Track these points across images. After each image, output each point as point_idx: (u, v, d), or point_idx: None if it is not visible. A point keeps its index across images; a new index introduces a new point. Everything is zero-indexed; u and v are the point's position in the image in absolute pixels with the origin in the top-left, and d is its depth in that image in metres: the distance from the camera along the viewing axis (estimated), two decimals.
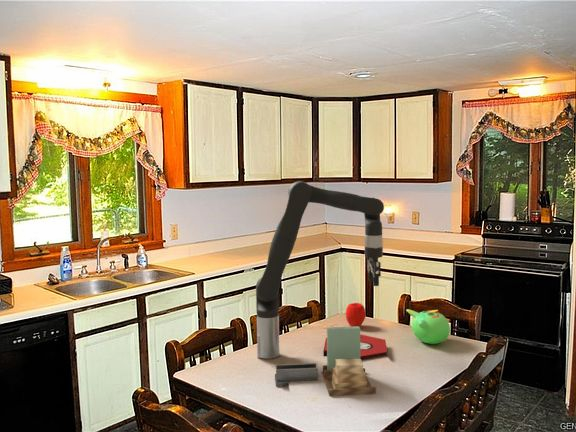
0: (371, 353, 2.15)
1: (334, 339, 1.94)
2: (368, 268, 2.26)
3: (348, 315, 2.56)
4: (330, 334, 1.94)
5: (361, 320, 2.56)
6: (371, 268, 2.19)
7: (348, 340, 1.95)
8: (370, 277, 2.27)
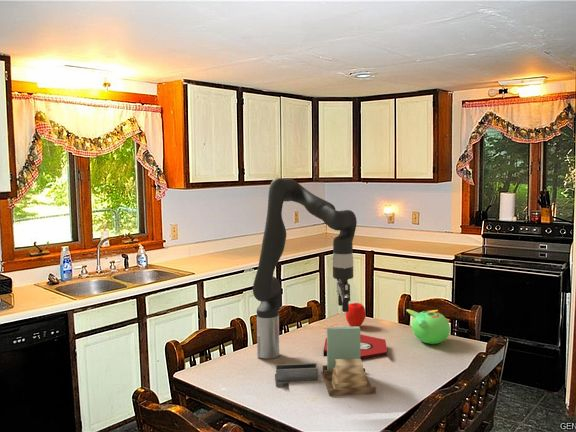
0: (371, 353, 2.15)
1: (334, 339, 1.94)
2: (337, 291, 1.97)
3: (348, 315, 2.56)
4: (330, 334, 1.94)
5: (361, 320, 2.56)
6: (340, 291, 1.91)
7: (348, 340, 1.95)
8: (340, 301, 1.98)
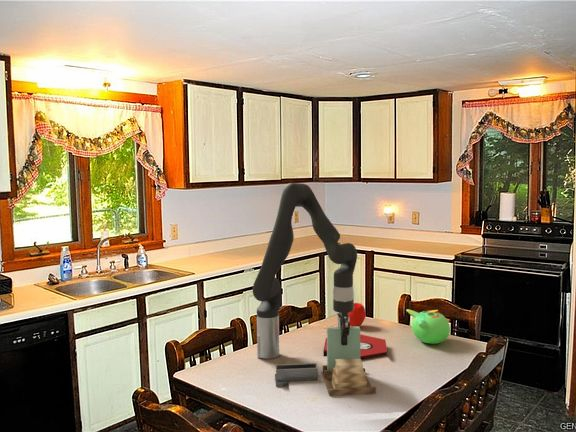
0: (371, 353, 2.15)
1: (334, 339, 1.94)
2: (338, 325, 1.96)
3: (348, 315, 2.56)
4: (330, 334, 1.94)
5: (361, 320, 2.56)
6: (339, 325, 1.93)
7: (348, 340, 1.95)
8: None
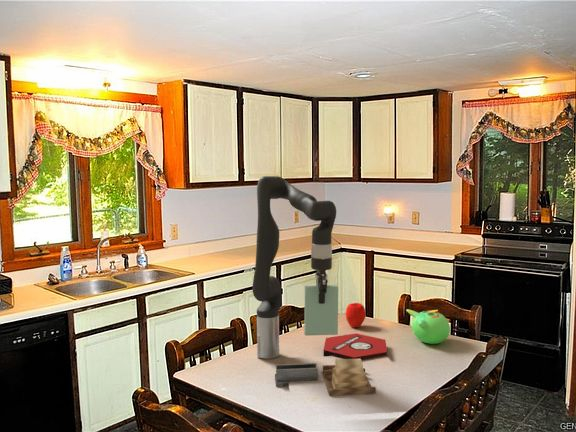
0: (371, 353, 2.15)
1: (311, 297, 1.92)
2: (316, 283, 1.94)
3: (348, 315, 2.56)
4: (308, 292, 1.92)
5: (361, 320, 2.56)
6: (317, 283, 1.91)
7: (326, 298, 1.93)
8: None
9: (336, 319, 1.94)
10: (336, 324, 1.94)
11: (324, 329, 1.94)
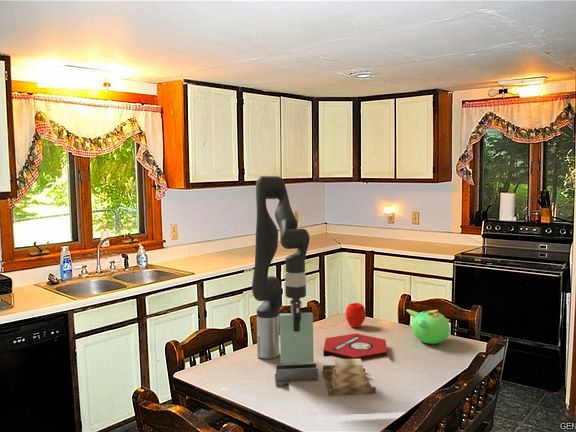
0: (371, 353, 2.15)
1: (286, 325, 1.93)
2: (291, 311, 1.94)
3: (348, 315, 2.56)
4: (282, 320, 1.92)
5: (361, 320, 2.56)
6: (291, 311, 1.91)
7: (300, 326, 1.93)
8: None
9: (312, 346, 1.94)
10: (312, 351, 1.94)
11: (299, 356, 1.94)
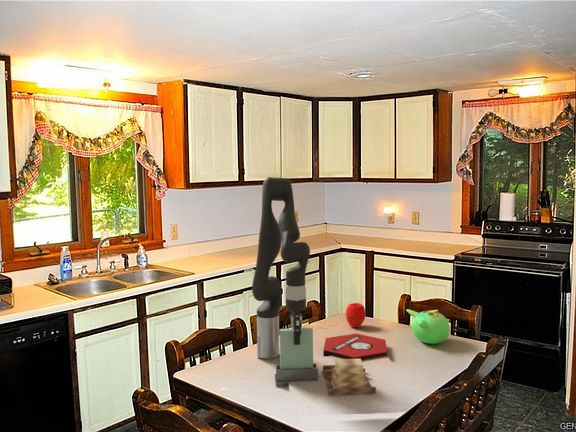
0: (371, 353, 2.15)
1: (286, 340, 1.93)
2: (291, 324, 1.95)
3: (348, 315, 2.56)
4: (282, 335, 1.93)
5: (361, 320, 2.56)
6: (292, 324, 1.91)
7: (300, 341, 1.94)
8: None
9: (311, 362, 1.95)
10: (311, 367, 1.95)
11: None
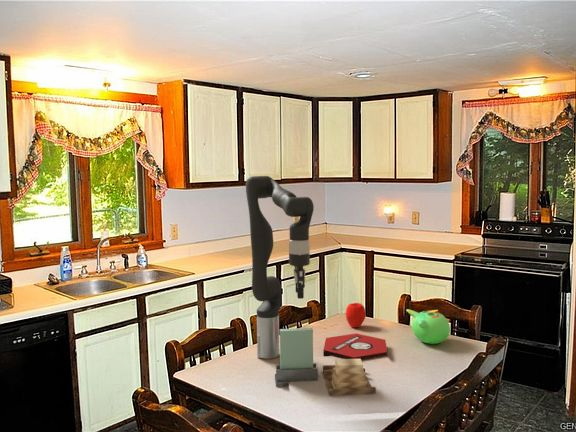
0: (371, 353, 2.15)
1: (286, 340, 1.93)
2: (294, 277, 1.97)
3: (348, 315, 2.56)
4: (282, 336, 1.93)
5: (361, 320, 2.56)
6: (295, 278, 1.91)
7: (300, 341, 1.93)
8: (297, 288, 1.98)
9: (311, 362, 1.94)
10: (311, 367, 1.95)
11: None
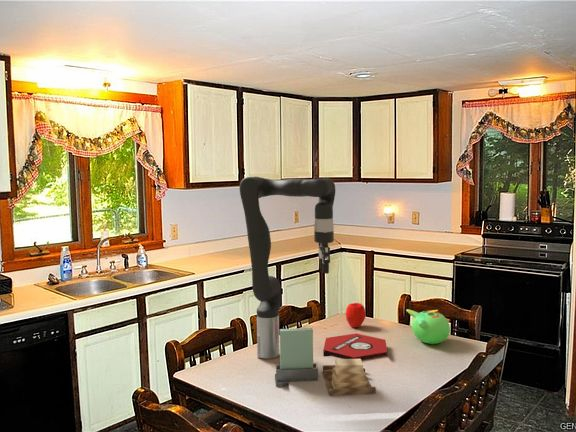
0: (371, 353, 2.15)
1: (286, 340, 1.93)
2: (319, 254, 2.09)
3: (348, 315, 2.56)
4: (282, 336, 1.93)
5: (361, 320, 2.56)
6: (320, 254, 2.03)
7: (300, 341, 1.93)
8: (321, 264, 2.11)
9: (311, 362, 1.94)
10: (311, 367, 1.95)
11: None
